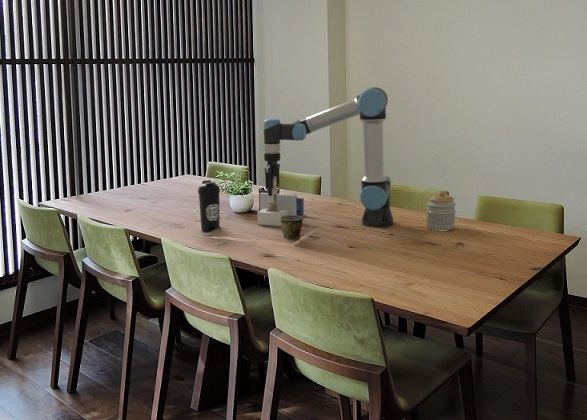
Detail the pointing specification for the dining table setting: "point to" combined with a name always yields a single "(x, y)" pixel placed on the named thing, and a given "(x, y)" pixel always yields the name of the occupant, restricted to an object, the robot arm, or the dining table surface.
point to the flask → (299, 206)
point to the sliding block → (271, 216)
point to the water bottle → (209, 205)
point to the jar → (441, 212)
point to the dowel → (274, 205)
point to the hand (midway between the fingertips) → (272, 201)
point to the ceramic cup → (291, 226)
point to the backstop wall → (280, 202)
